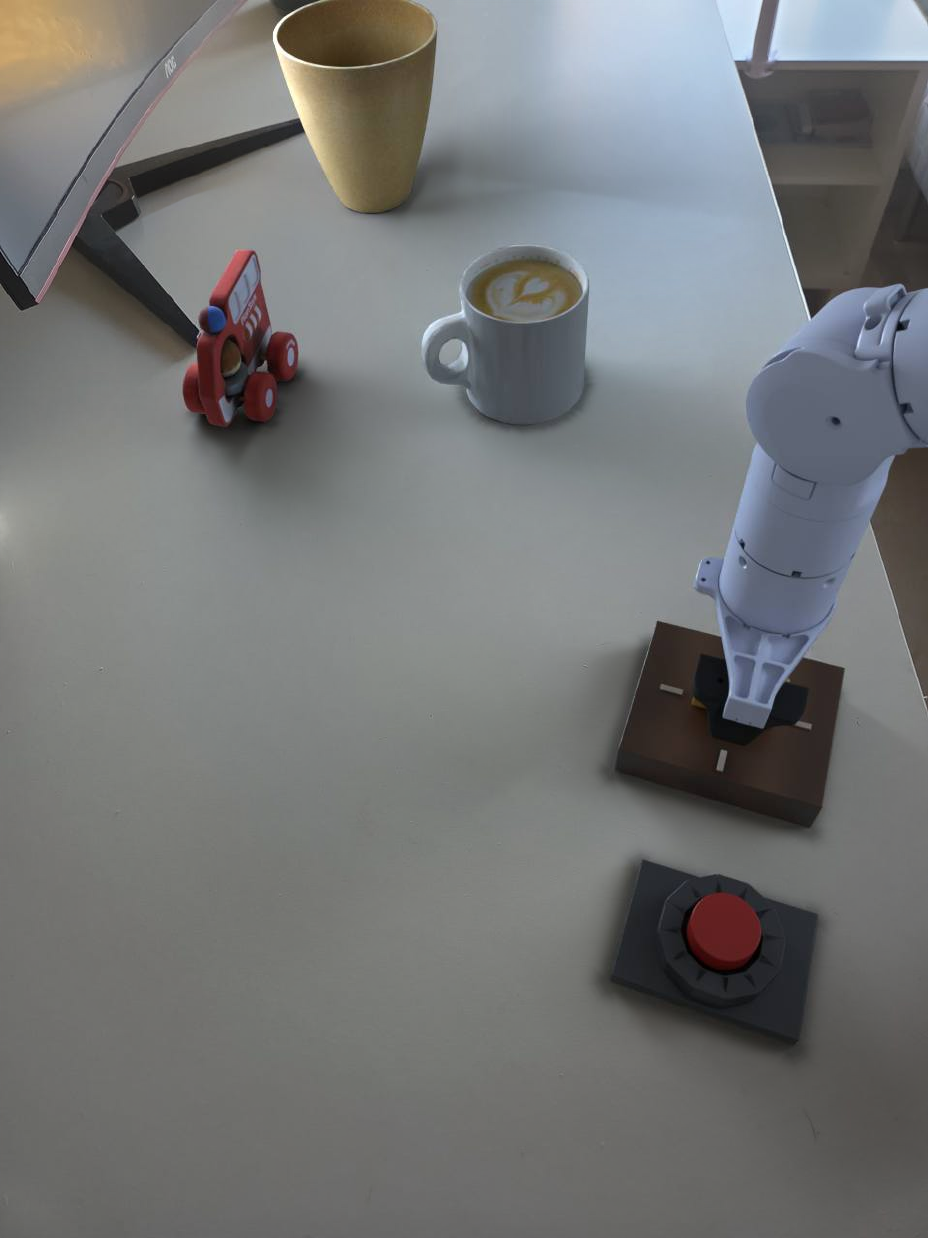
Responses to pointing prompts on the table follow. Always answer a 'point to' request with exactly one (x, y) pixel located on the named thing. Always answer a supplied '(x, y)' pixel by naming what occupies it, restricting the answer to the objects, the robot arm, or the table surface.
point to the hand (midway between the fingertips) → (742, 682)
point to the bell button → (723, 931)
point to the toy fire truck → (238, 349)
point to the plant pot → (362, 92)
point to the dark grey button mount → (671, 972)
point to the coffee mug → (517, 334)
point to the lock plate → (720, 770)
